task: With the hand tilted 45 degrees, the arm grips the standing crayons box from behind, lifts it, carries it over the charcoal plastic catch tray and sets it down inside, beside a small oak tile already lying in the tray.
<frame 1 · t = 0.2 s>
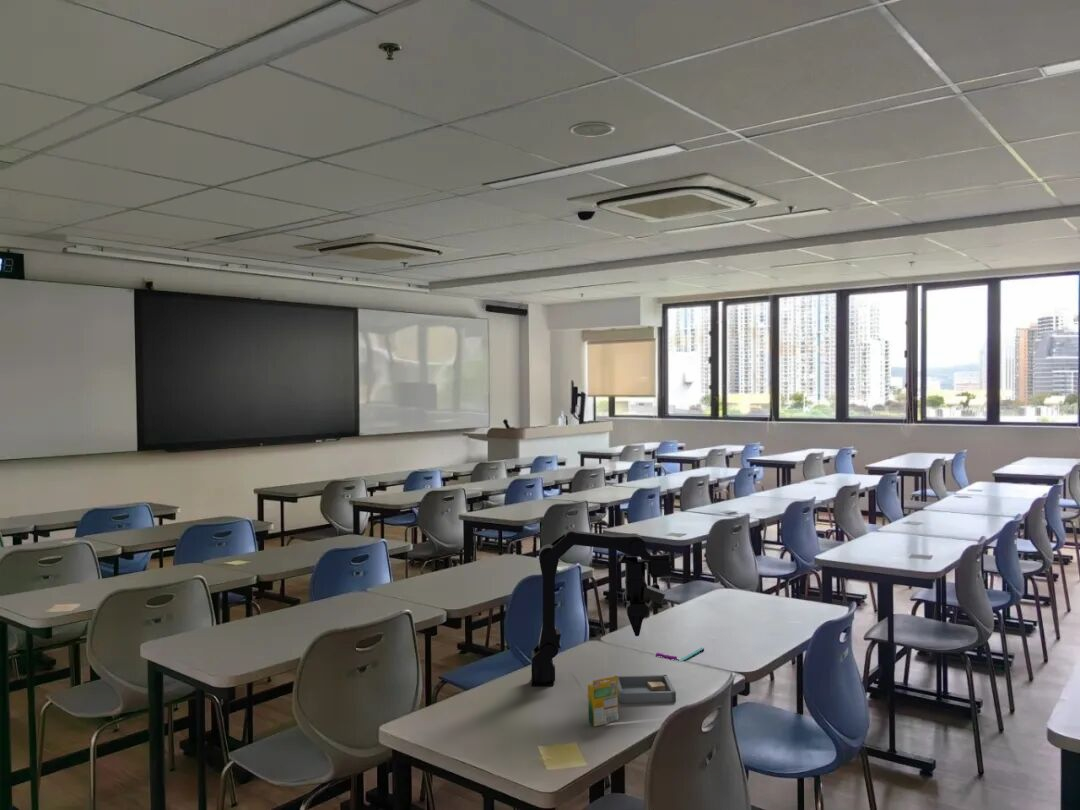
hand: (635, 631, 231), 14 cm above the table, tool pointing down, fingers open, 9 cm apart
catch tray: (644, 695, 220), on the table
wood tile: (656, 688, 223), point 1 cm above the table, touching catch tray
squeegee: (668, 662, 250), on the table
crayon box: (603, 723, 202), on the table
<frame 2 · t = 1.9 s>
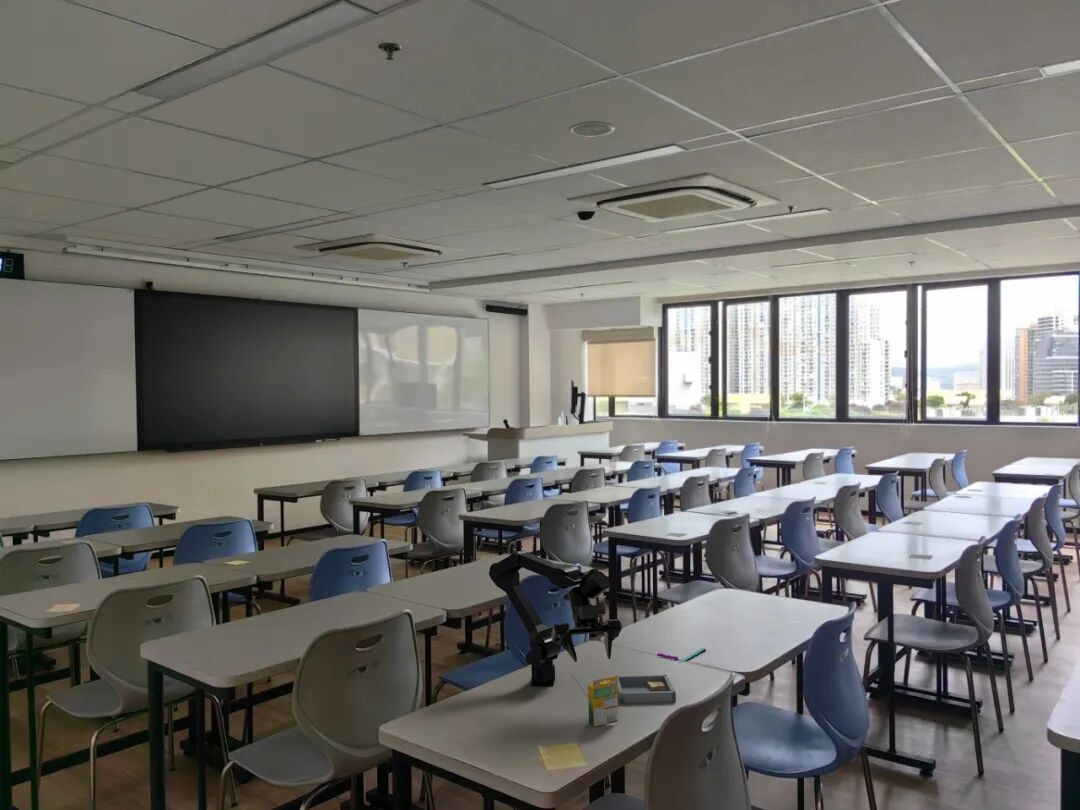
hand: (592, 659, 209), 13 cm above the table, tool tilted 45°, fingers open, 9 cm apart
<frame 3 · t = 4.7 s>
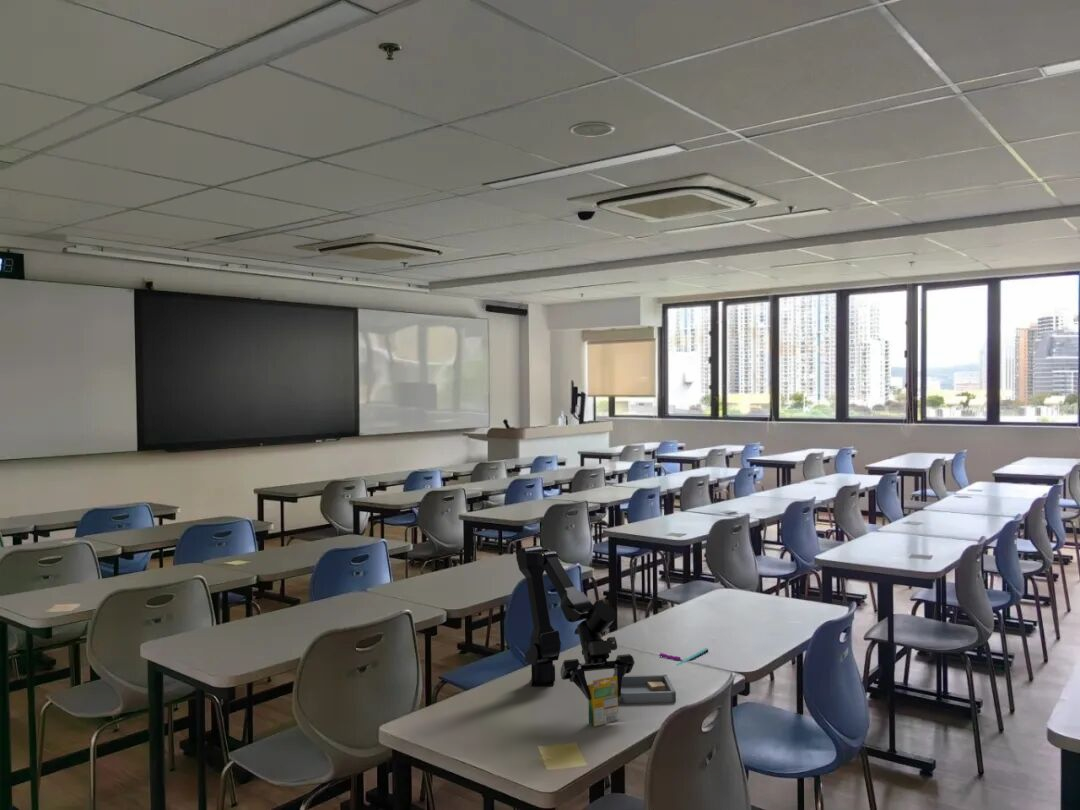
hand: (604, 698, 200), 7 cm above the table, tool tilted 45°, fingers closed on crayon box, 7 cm apart
crayon box: (603, 723, 202), on the table, touching gripper
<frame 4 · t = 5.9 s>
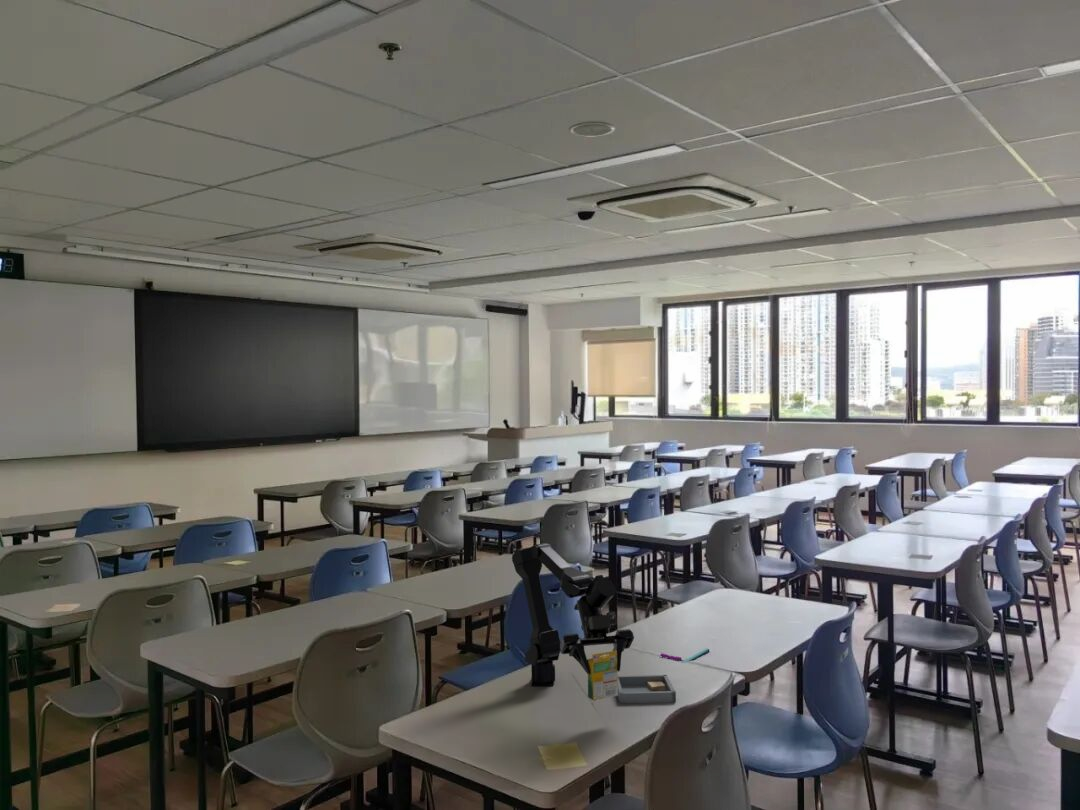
hand: (604, 672, 200), 13 cm above the table, tool tilted 45°, fingers closed on crayon box, 7 cm apart
crayon box: (602, 697, 202), point 6 cm above the table, touching gripper
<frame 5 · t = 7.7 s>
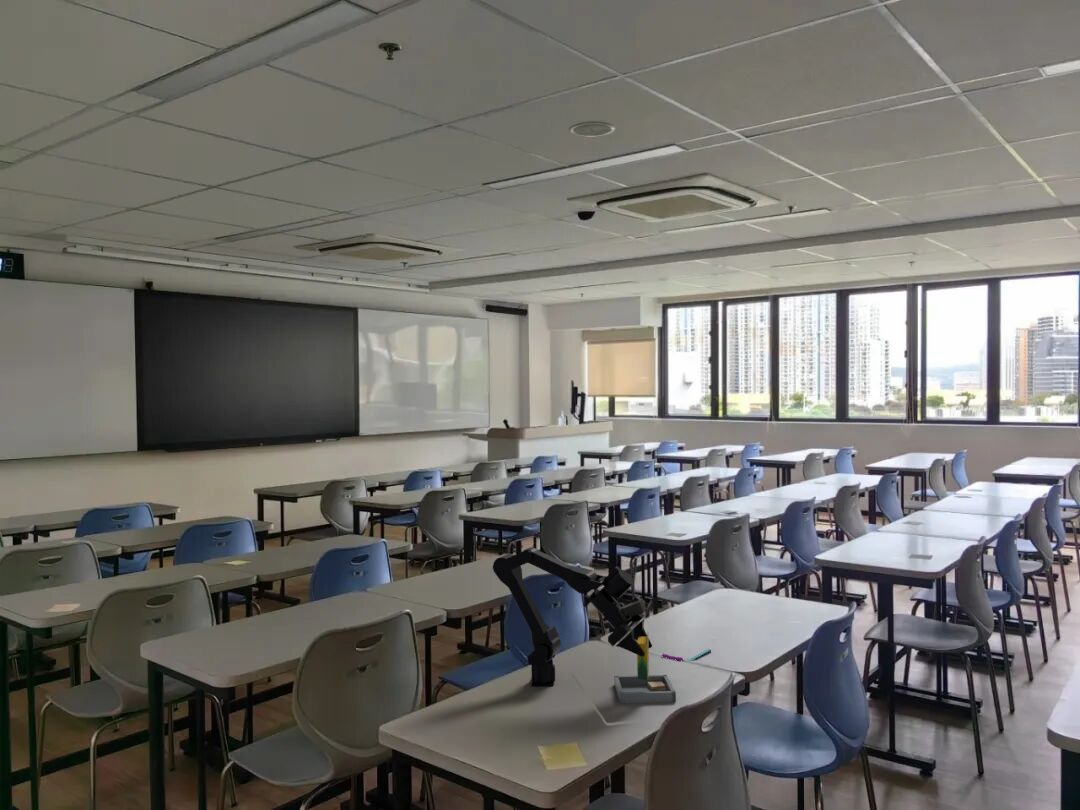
hand: (647, 651, 219), 12 cm above the table, tool tilted 45°, fingers closed on crayon box, 7 cm apart
crayon box: (643, 676, 220), point 5 cm above the table, touching gripper
when the fingers open (8 cm above the table, at t = 8.9 s): crayon box drops 1 cm, resting on catch tray.
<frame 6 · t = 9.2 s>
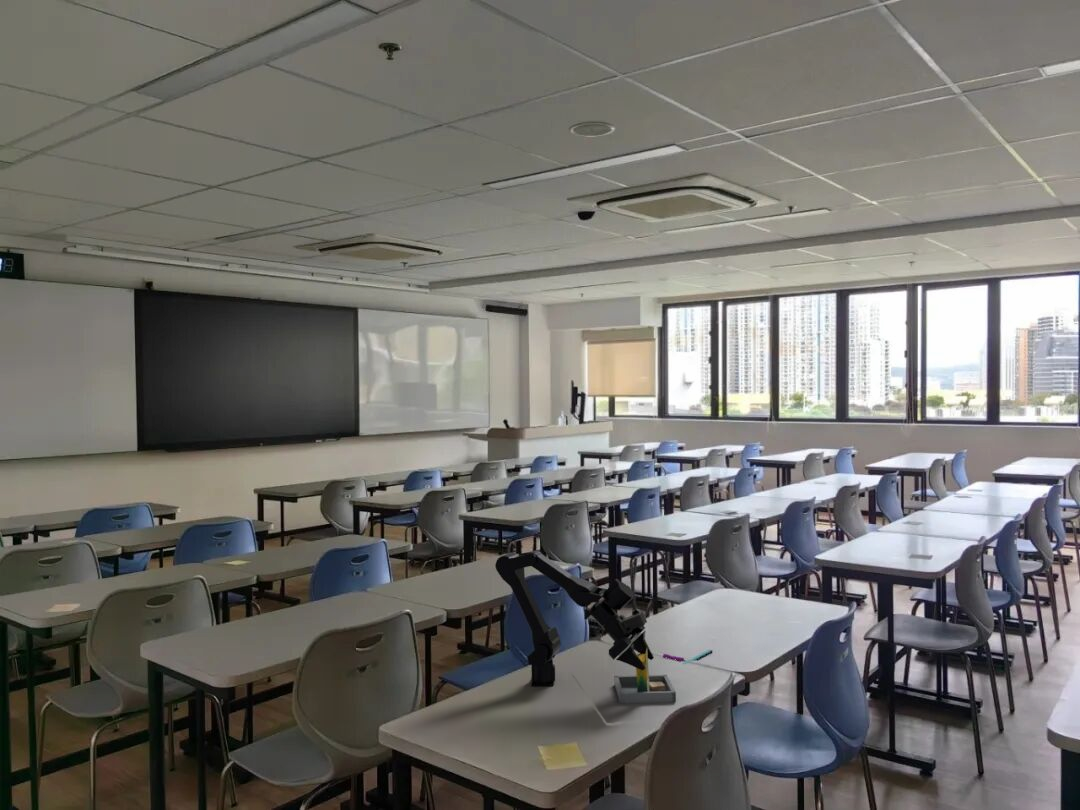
hand: (648, 664, 219), 9 cm above the table, tool tilted 45°, fingers open, 9 cm apart
crayon box: (643, 693, 220), resting on catch tray
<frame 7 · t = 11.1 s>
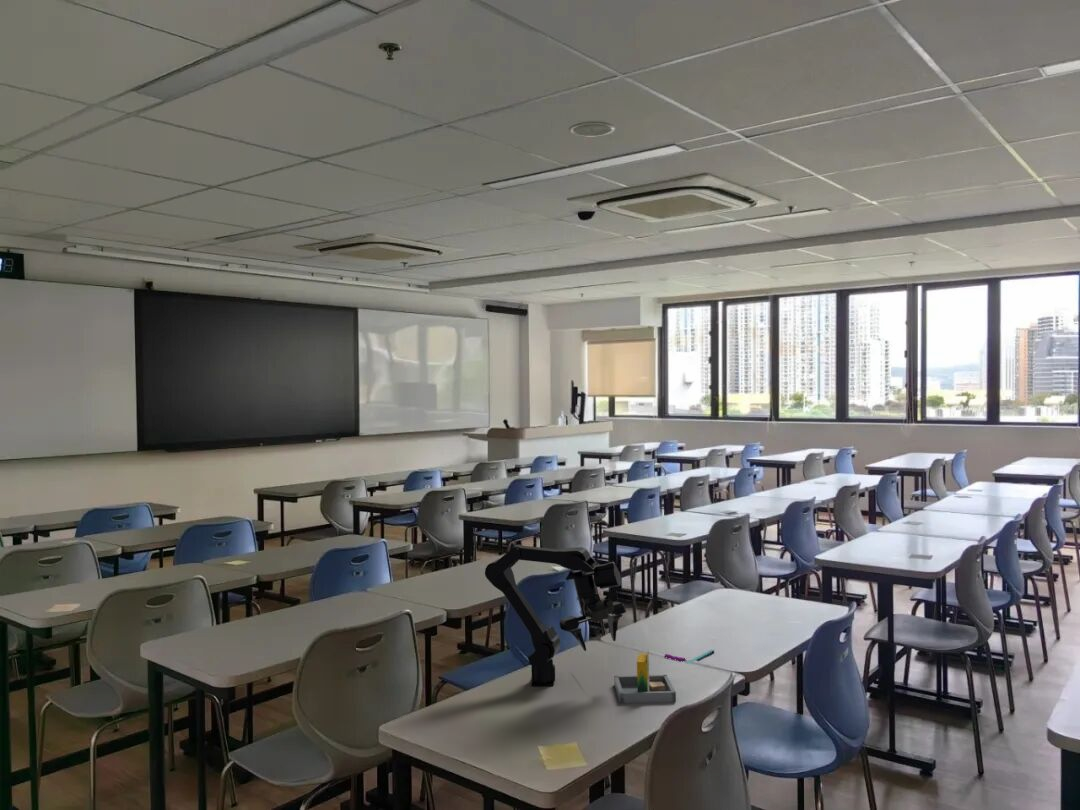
hand: (599, 645, 226), 12 cm above the table, tool pointing down, fingers open, 9 cm apart
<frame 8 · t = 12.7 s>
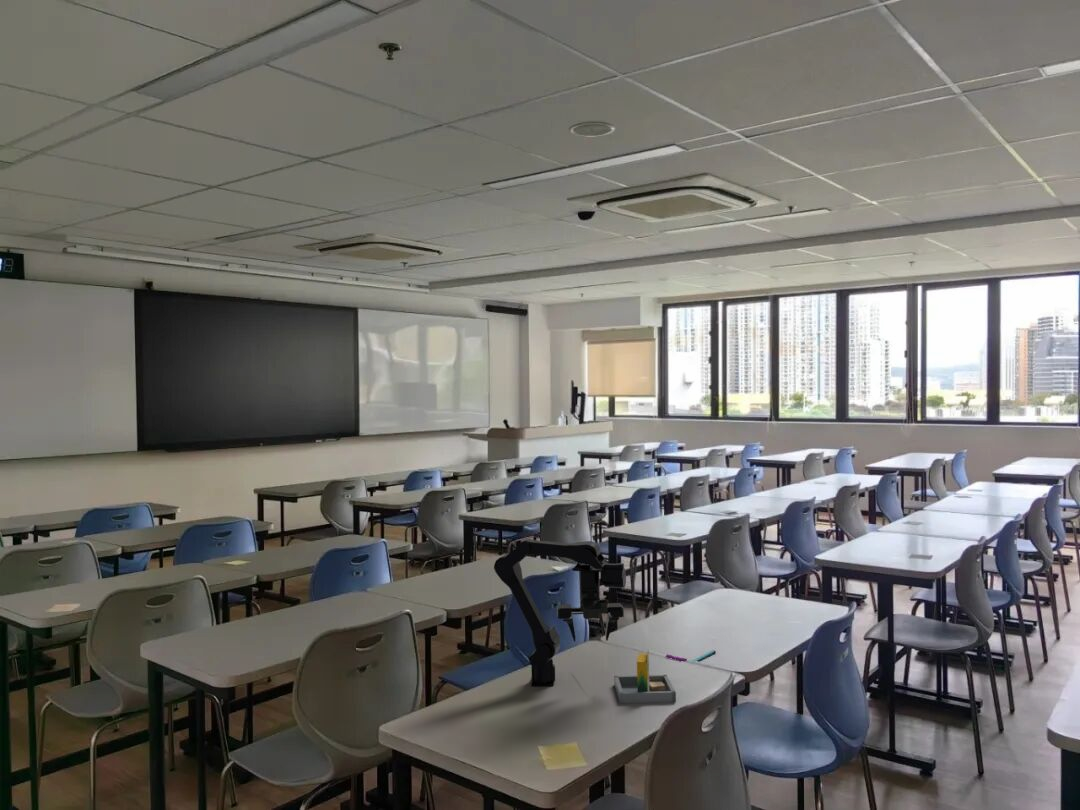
hand: (590, 640, 228), 13 cm above the table, tool pointing down, fingers open, 9 cm apart
at the end: crayon box inside the target area on the catch tray (0.2 cm from its centre), point 0.4 cm above the catch tray's base; the gripper is holding nothing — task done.
